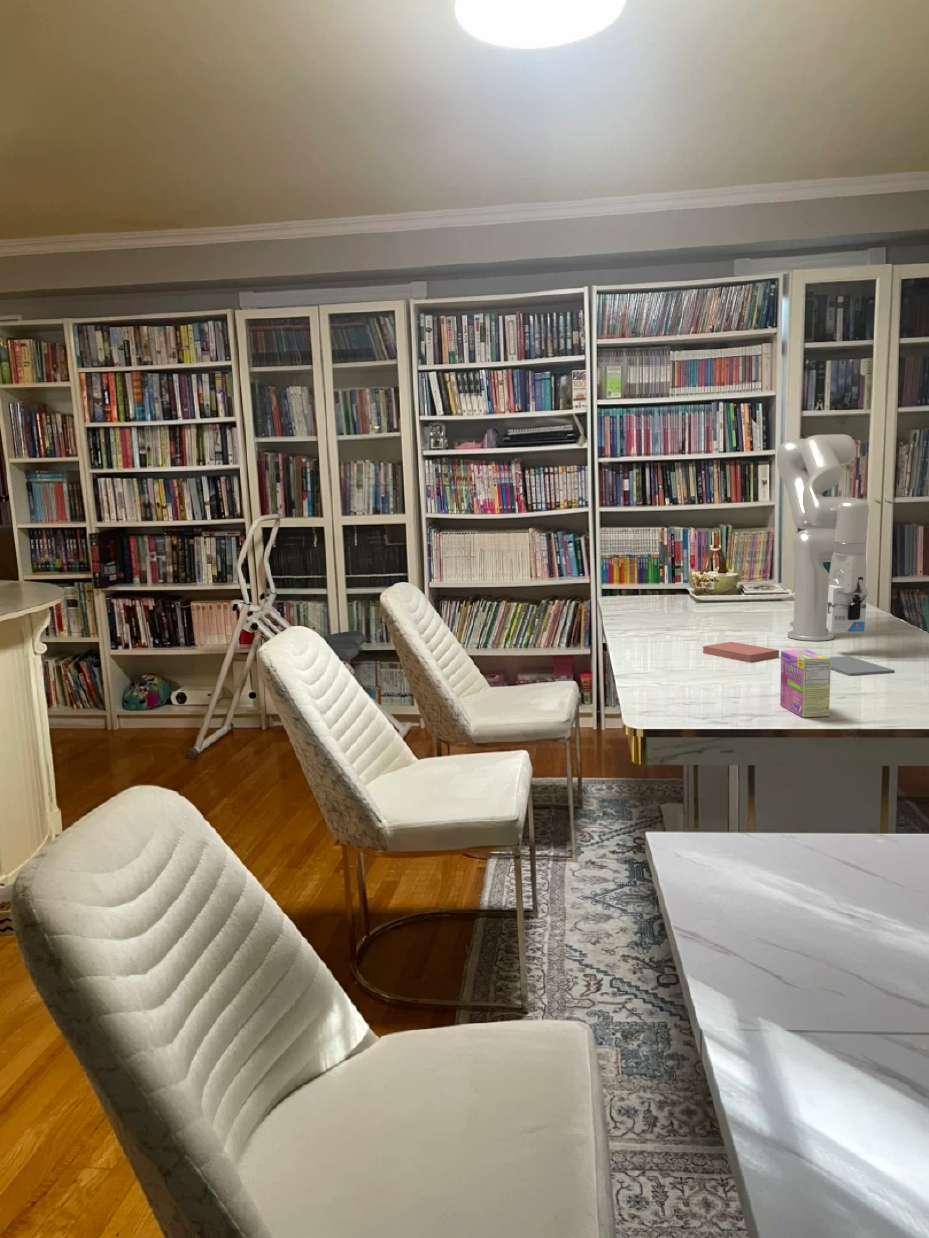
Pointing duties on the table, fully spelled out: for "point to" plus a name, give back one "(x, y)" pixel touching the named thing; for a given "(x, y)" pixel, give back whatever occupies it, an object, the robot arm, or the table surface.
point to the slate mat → (856, 666)
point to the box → (805, 682)
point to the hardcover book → (741, 652)
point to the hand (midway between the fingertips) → (845, 616)
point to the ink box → (843, 612)
